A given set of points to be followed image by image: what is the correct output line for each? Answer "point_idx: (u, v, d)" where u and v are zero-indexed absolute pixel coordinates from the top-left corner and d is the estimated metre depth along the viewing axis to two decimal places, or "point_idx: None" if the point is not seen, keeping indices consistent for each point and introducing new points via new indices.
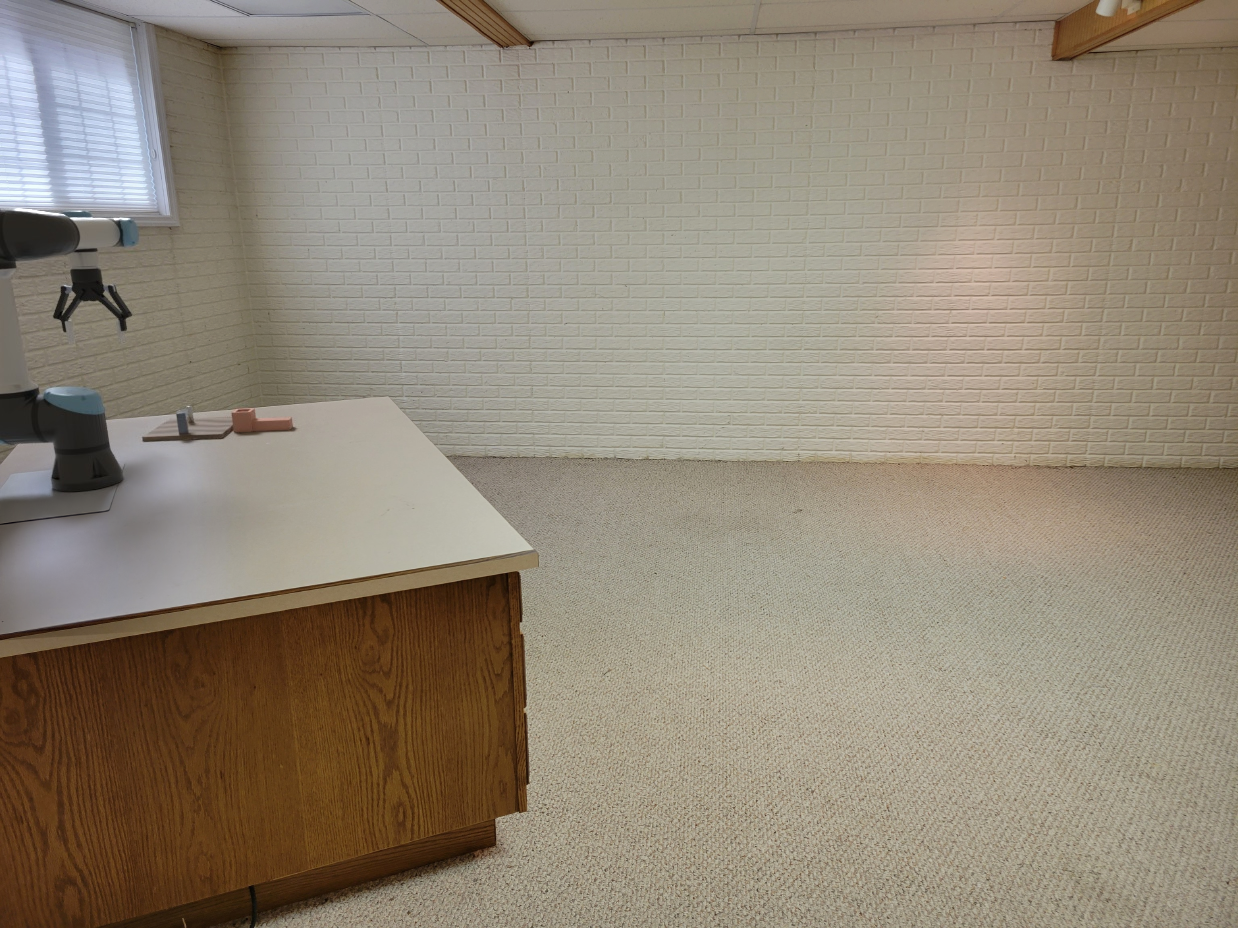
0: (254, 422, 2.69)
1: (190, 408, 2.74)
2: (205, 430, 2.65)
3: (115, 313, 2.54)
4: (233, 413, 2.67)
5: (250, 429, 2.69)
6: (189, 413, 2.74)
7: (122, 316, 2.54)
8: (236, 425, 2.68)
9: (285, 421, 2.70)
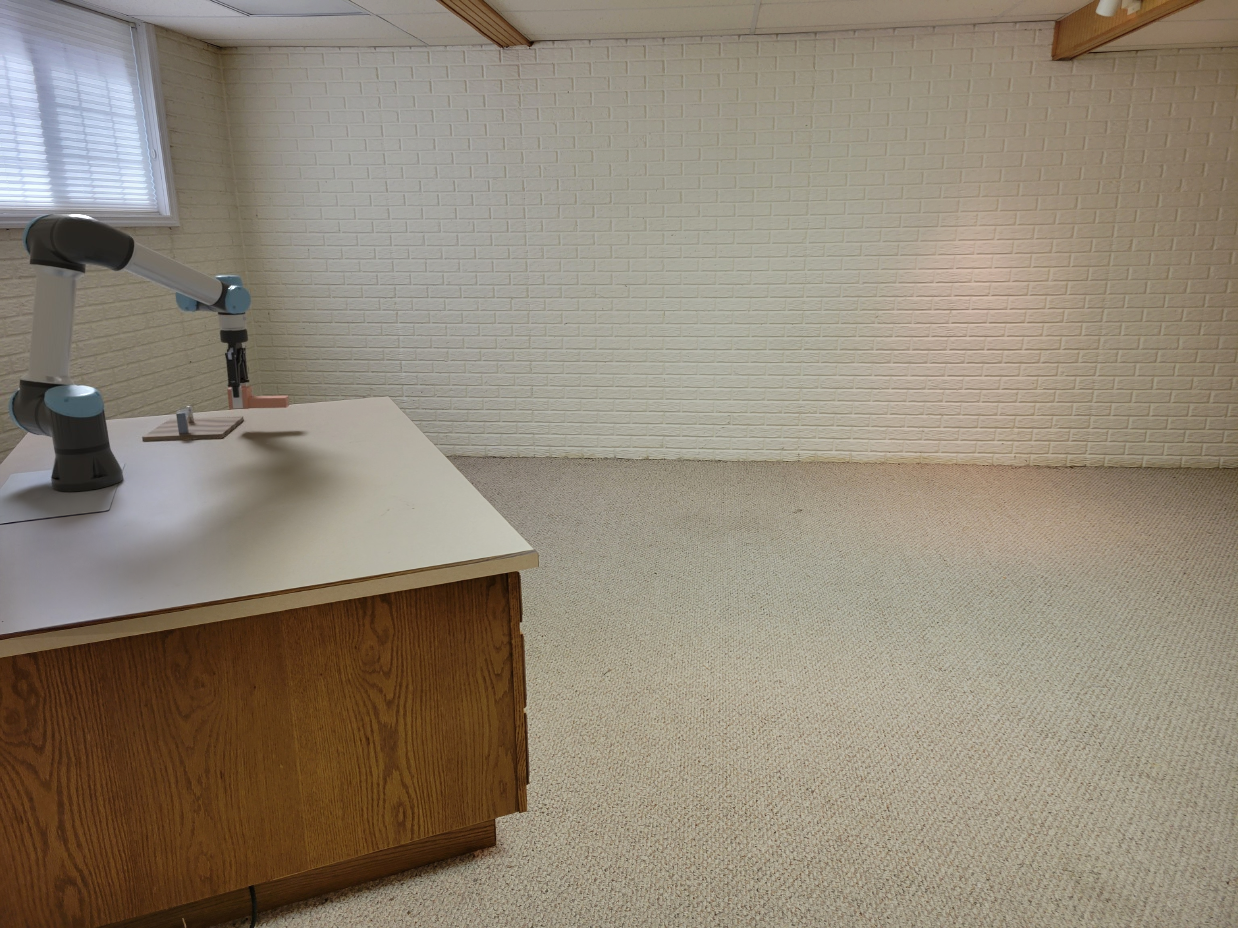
0: (250, 399, 2.67)
1: (190, 408, 2.74)
2: (205, 430, 2.65)
3: None
4: (229, 390, 2.65)
5: (246, 406, 2.66)
6: (189, 413, 2.74)
7: None
8: (232, 402, 2.66)
9: (281, 399, 2.68)
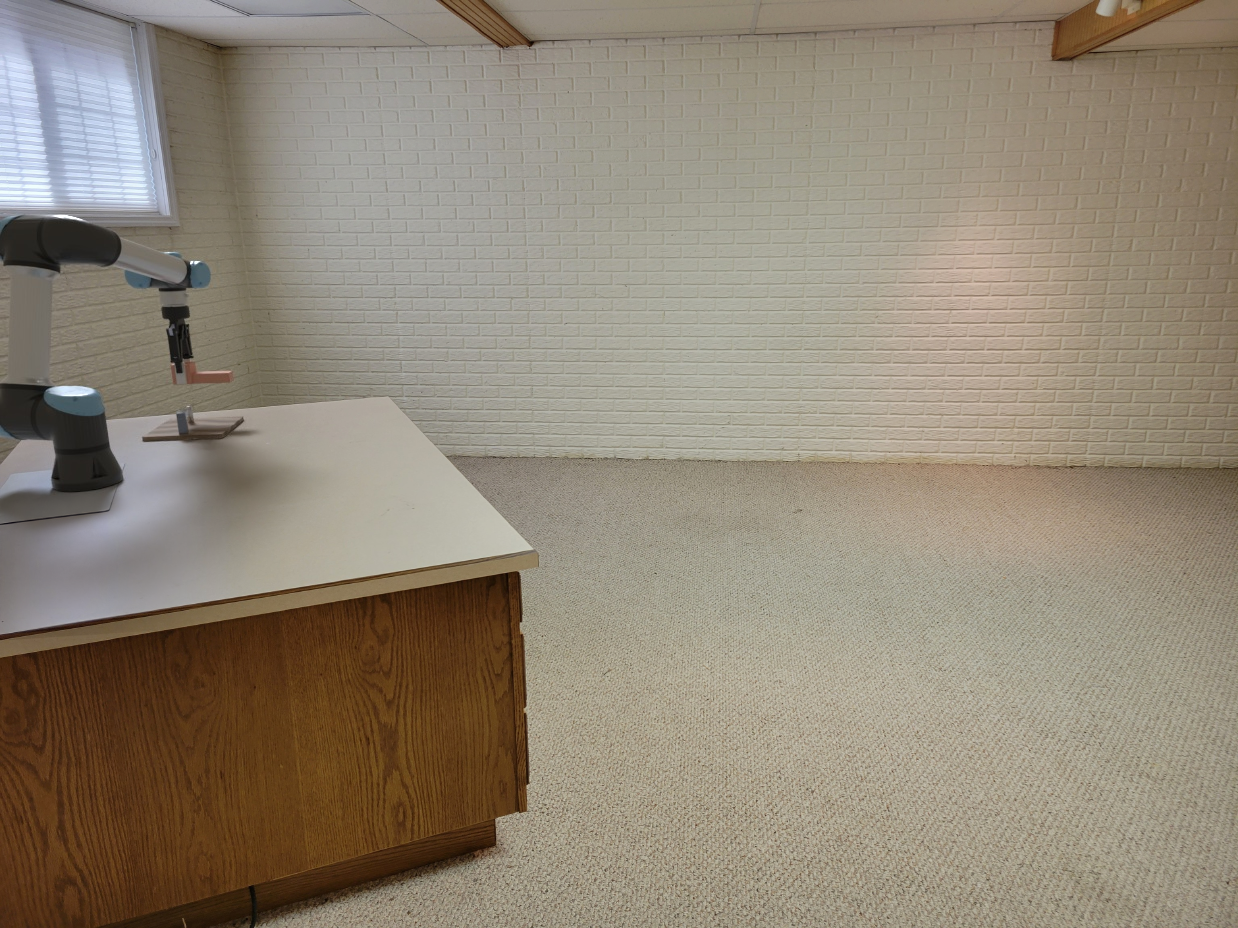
0: (194, 375, 2.71)
1: (190, 408, 2.74)
2: (205, 430, 2.65)
3: None
4: (172, 366, 2.68)
5: (190, 382, 2.70)
6: (189, 413, 2.74)
7: None
8: (175, 378, 2.69)
9: (225, 374, 2.72)
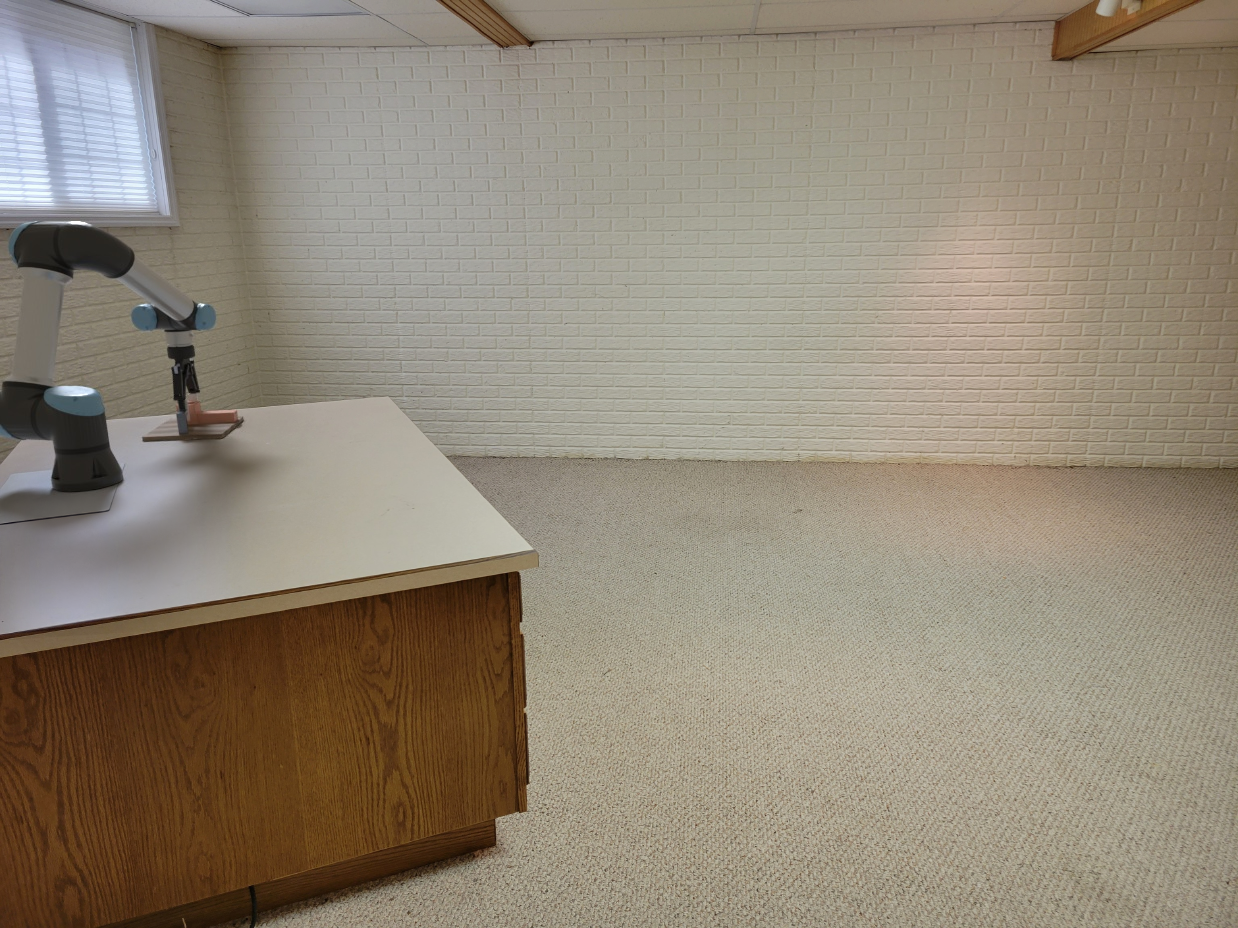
0: (199, 415, 2.74)
1: None
2: (205, 430, 2.65)
3: None
4: None
5: (195, 421, 2.74)
6: None
7: None
8: None
9: (229, 414, 2.75)
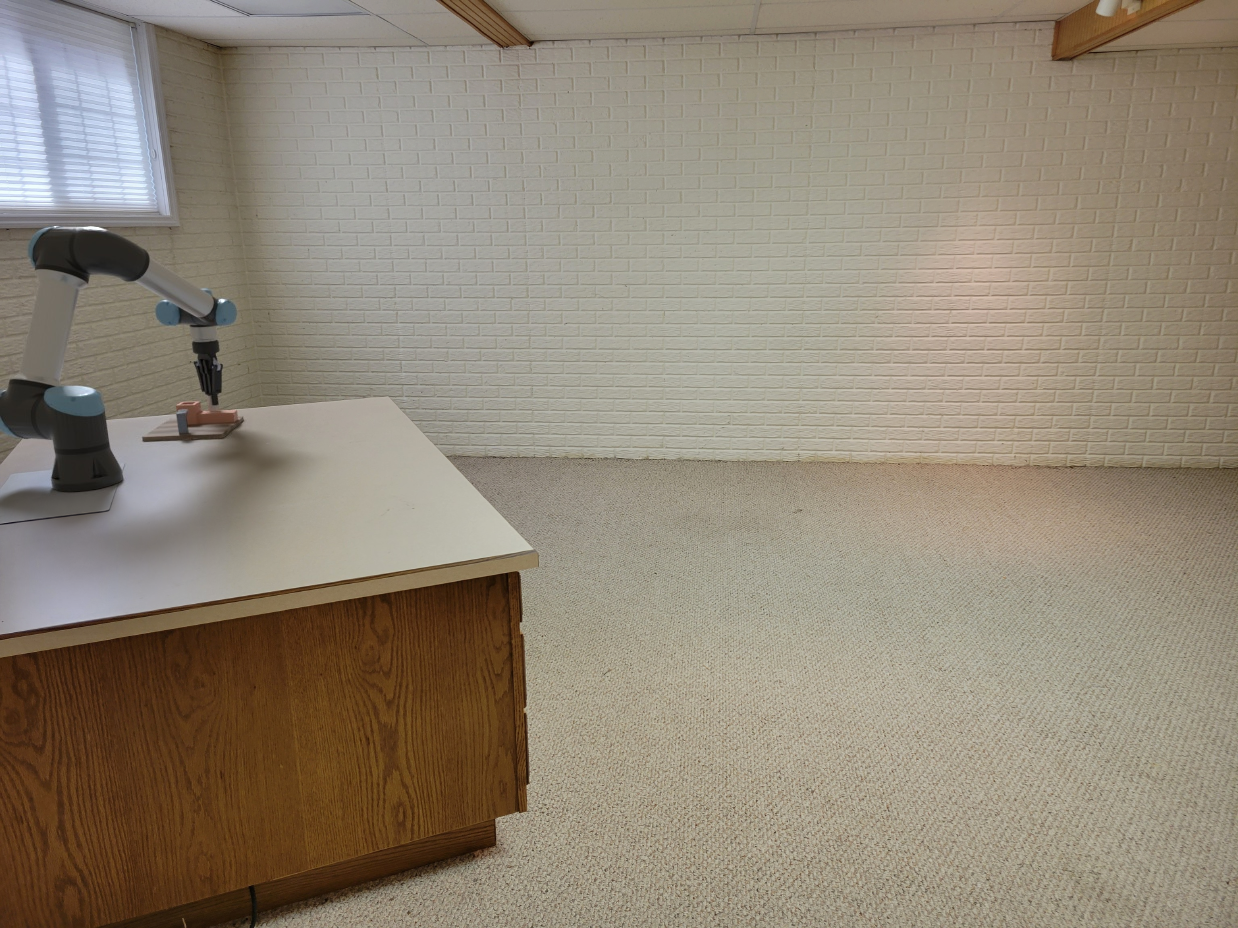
0: (199, 415, 2.74)
1: None
2: (205, 430, 2.65)
3: (209, 388, 2.76)
4: (178, 406, 2.72)
5: (195, 422, 2.73)
6: None
7: None
8: None
9: (229, 414, 2.75)
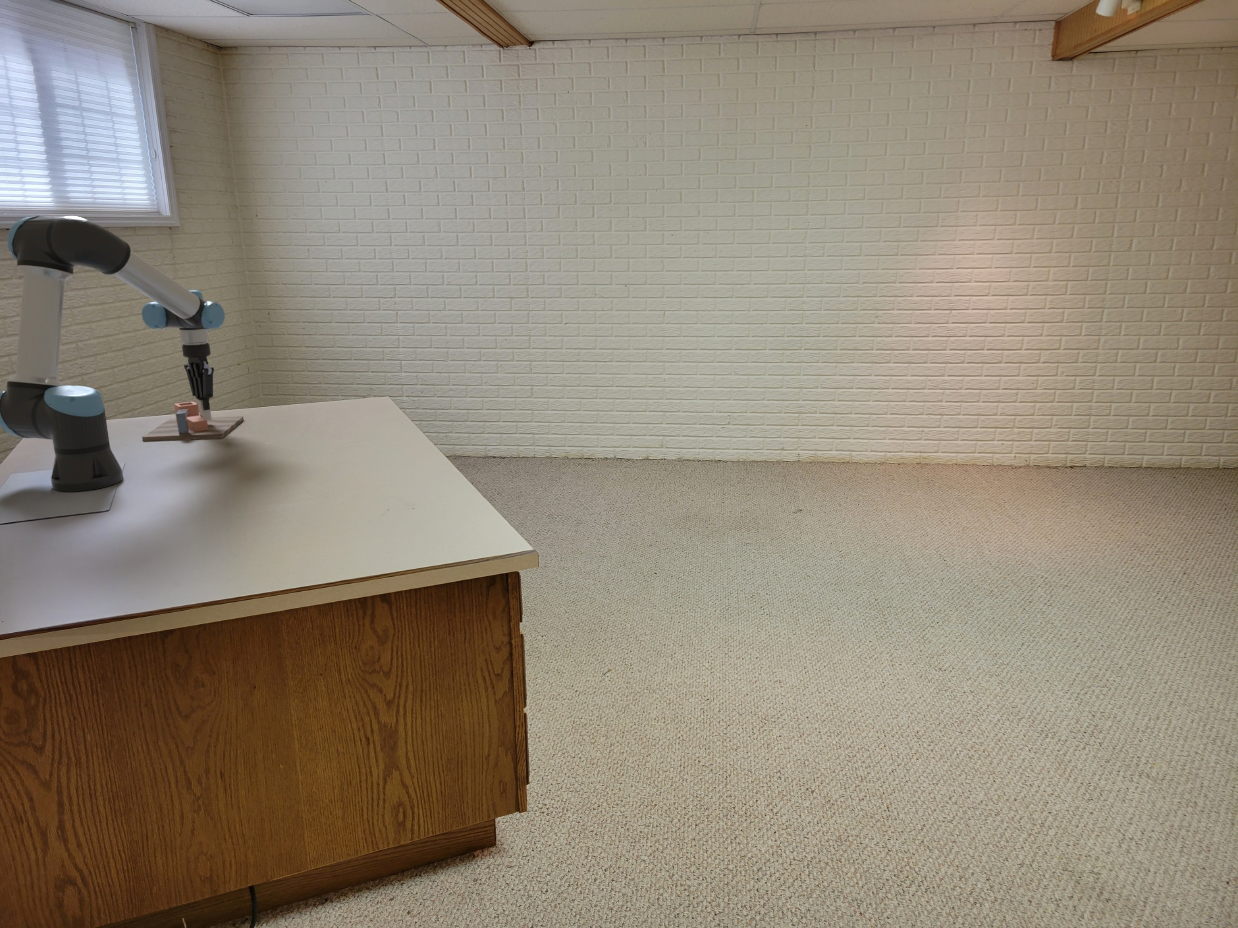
0: None
1: None
2: (205, 430, 2.65)
3: (200, 392, 2.68)
4: (174, 405, 2.73)
5: None
6: None
7: None
8: (176, 417, 2.74)
9: (191, 422, 2.64)
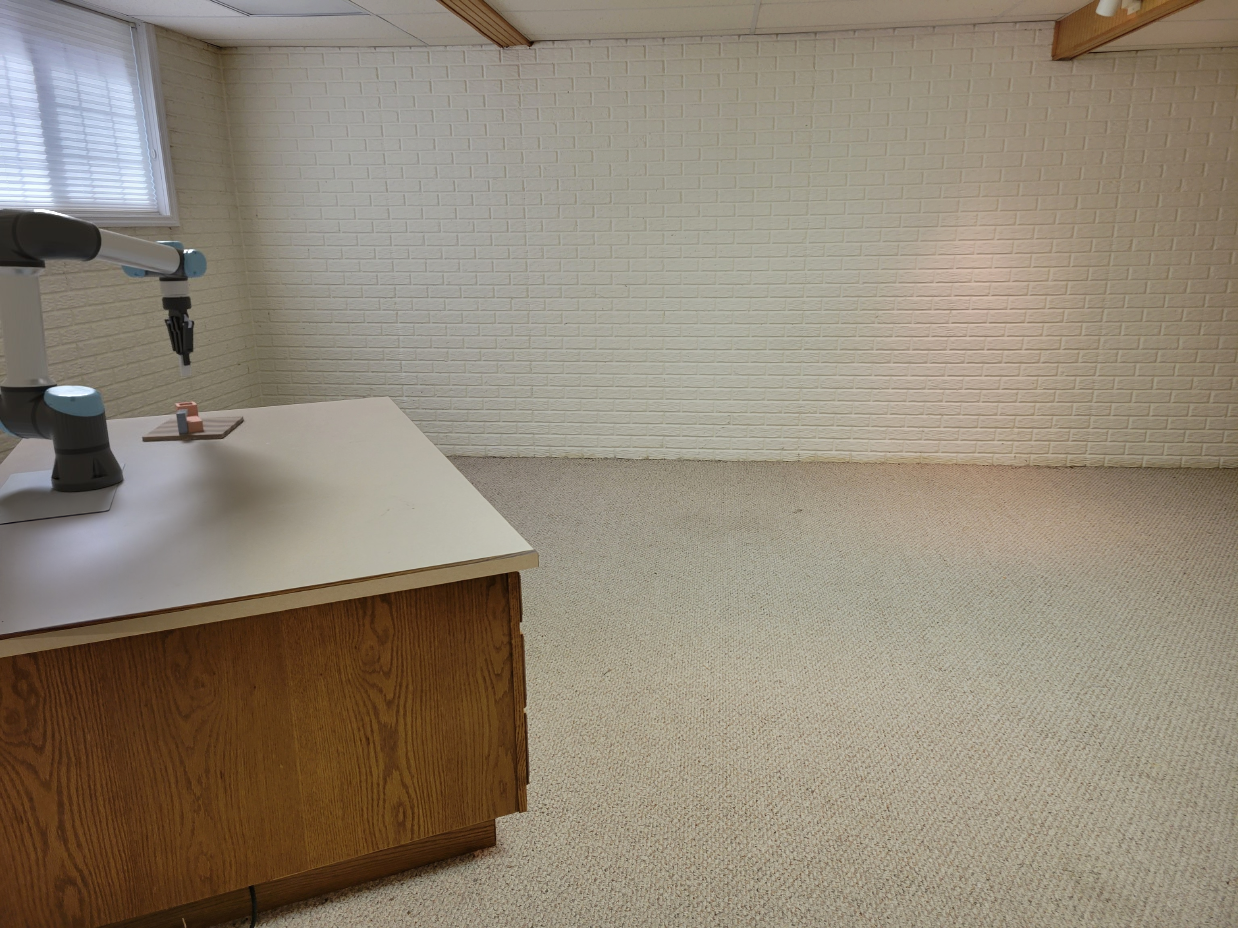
0: None
1: None
2: (205, 430, 2.65)
3: (180, 347, 2.61)
4: (175, 404, 2.74)
5: None
6: None
7: None
8: None
9: None
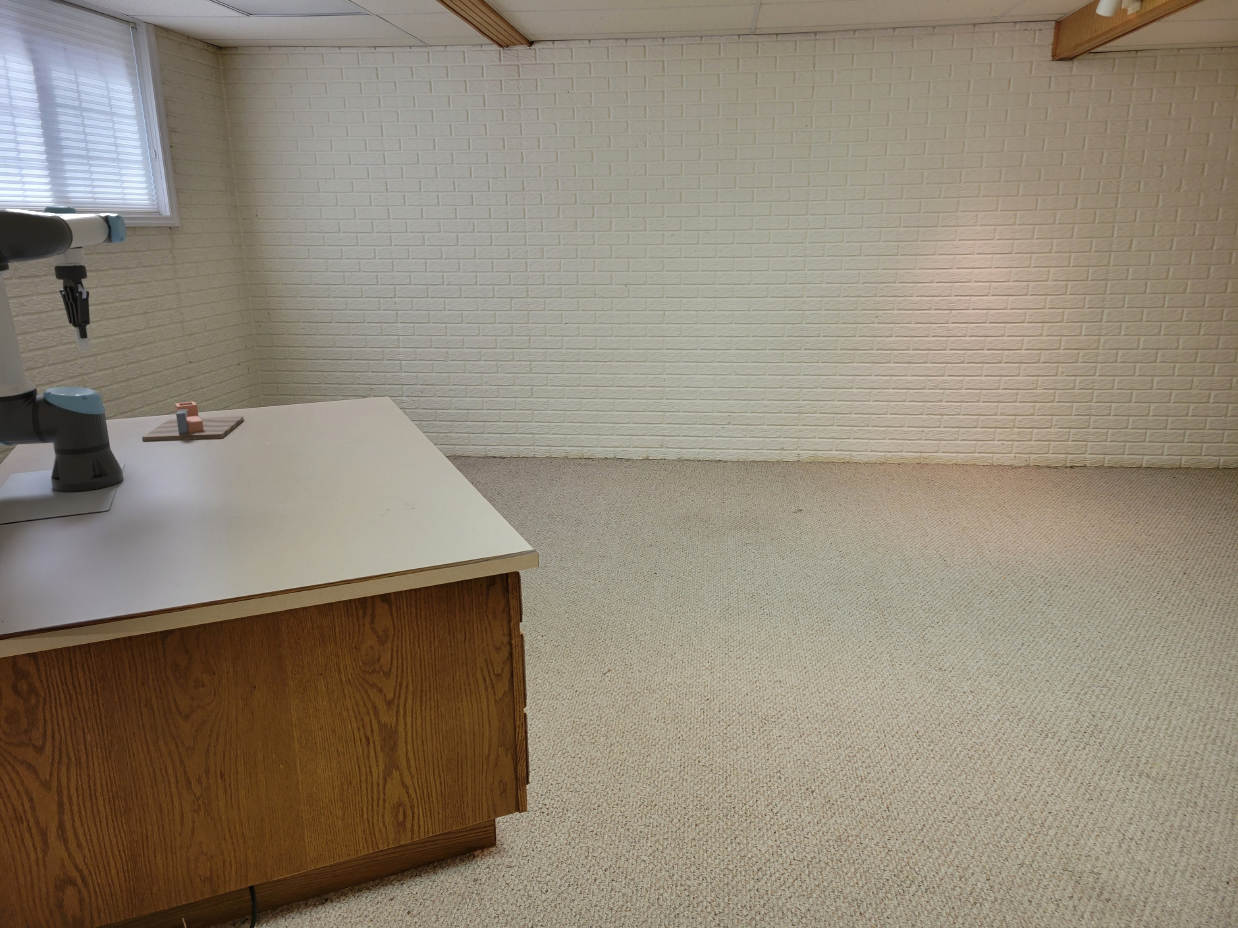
0: None
1: None
2: (205, 430, 2.65)
3: (76, 318, 2.48)
4: (175, 404, 2.74)
5: None
6: None
7: None
8: None
9: None
